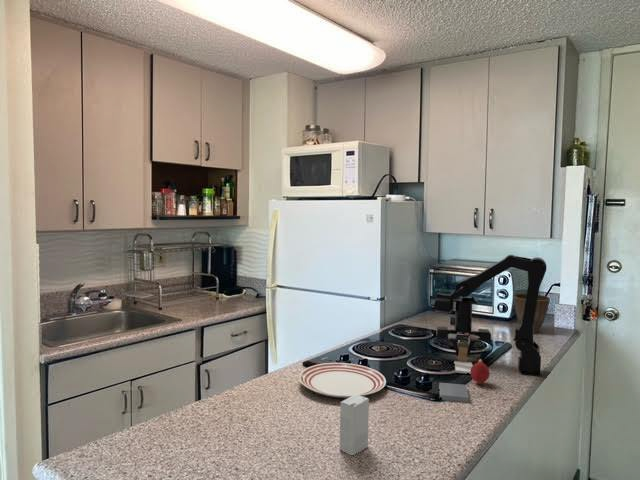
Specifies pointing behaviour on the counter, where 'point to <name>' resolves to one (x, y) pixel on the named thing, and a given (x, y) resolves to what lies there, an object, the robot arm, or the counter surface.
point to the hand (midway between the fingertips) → (462, 356)
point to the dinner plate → (342, 379)
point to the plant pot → (539, 313)
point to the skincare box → (354, 424)
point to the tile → (453, 392)
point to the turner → (462, 360)
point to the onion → (479, 372)
